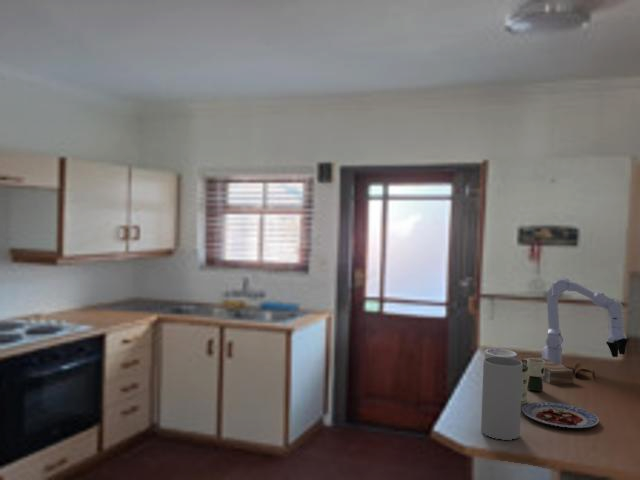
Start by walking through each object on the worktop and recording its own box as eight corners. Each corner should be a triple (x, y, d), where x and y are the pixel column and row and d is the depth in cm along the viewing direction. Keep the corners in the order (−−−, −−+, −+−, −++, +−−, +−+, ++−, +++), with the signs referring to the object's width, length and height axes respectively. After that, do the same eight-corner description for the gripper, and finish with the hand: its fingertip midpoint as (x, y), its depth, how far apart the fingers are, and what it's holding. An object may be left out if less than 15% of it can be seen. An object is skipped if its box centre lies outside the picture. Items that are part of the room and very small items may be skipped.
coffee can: (501, 394, 234) (502, 361, 233) (527, 398, 230) (529, 364, 229) (498, 401, 225) (499, 367, 224) (525, 406, 220) (526, 370, 220)
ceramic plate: (594, 439, 189) (594, 430, 189) (515, 422, 203) (515, 414, 203) (602, 416, 211) (602, 408, 211) (530, 403, 225) (530, 395, 225)
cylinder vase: (483, 424, 199) (485, 354, 198) (520, 430, 194) (523, 359, 193) (478, 437, 188) (481, 363, 187) (518, 444, 183) (521, 368, 182)
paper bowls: (512, 374, 266) (513, 357, 265) (480, 368, 274) (480, 352, 273) (519, 367, 279) (520, 351, 278) (488, 362, 287) (489, 346, 286)
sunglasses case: (595, 380, 258) (587, 367, 259) (580, 386, 260) (572, 373, 262) (594, 371, 274) (586, 358, 275) (580, 376, 277) (572, 364, 278)
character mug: (543, 395, 235) (544, 364, 234) (525, 392, 237) (526, 362, 237) (544, 388, 245) (545, 358, 244) (526, 385, 247) (528, 356, 247)
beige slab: (521, 370, 272) (522, 358, 272) (541, 369, 275) (542, 357, 275) (551, 384, 251) (551, 371, 250) (572, 382, 253) (573, 370, 253)
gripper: (618, 329, 259) (620, 359, 259) (631, 325, 268) (633, 353, 268) (603, 328, 265) (605, 357, 264) (616, 324, 274) (618, 352, 274)
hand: (618, 355), depth 267 cm, fingers open, 7 cm apart
